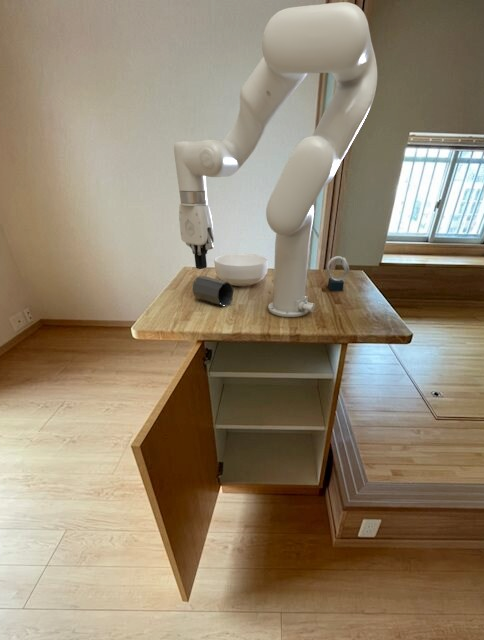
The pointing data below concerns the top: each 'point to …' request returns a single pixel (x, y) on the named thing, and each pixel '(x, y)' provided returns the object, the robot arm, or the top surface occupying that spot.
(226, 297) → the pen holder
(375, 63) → the robot arm
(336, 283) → the black block with loop
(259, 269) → the bowl
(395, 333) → the top surface
